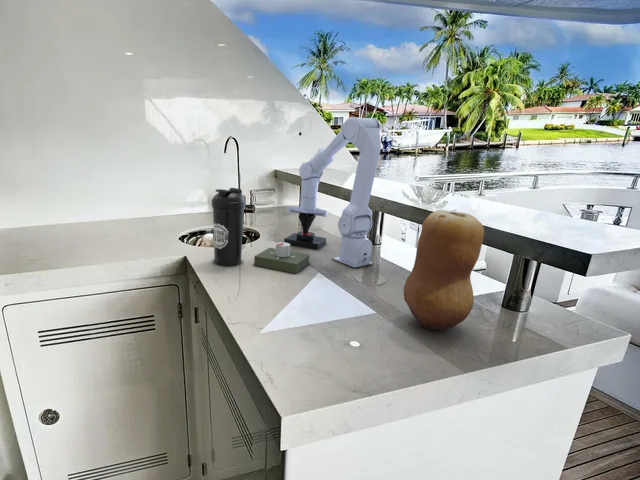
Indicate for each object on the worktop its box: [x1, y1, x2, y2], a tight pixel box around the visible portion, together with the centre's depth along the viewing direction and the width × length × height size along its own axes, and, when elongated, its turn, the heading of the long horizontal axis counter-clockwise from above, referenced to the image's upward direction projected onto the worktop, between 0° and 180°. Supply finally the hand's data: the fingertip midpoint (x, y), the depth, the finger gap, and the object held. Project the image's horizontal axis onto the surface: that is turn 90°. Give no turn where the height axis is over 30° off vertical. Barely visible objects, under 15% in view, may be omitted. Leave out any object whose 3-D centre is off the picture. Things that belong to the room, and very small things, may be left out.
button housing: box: [283, 231, 327, 250], centre depth 142 cm, size 13×10×4 cm
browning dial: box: [275, 241, 291, 257], centre depth 118 cm, size 4×4×4 cm
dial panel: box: [253, 247, 310, 274], centre depth 119 cm, size 14×11×3 cm
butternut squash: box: [403, 209, 485, 331], centre depth 79 cm, size 14×13×25 cm
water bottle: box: [211, 187, 246, 267], centre depth 117 cm, size 10×10×23 cm
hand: (305, 233), depth 141 cm, fingers closed, pressing on start button
